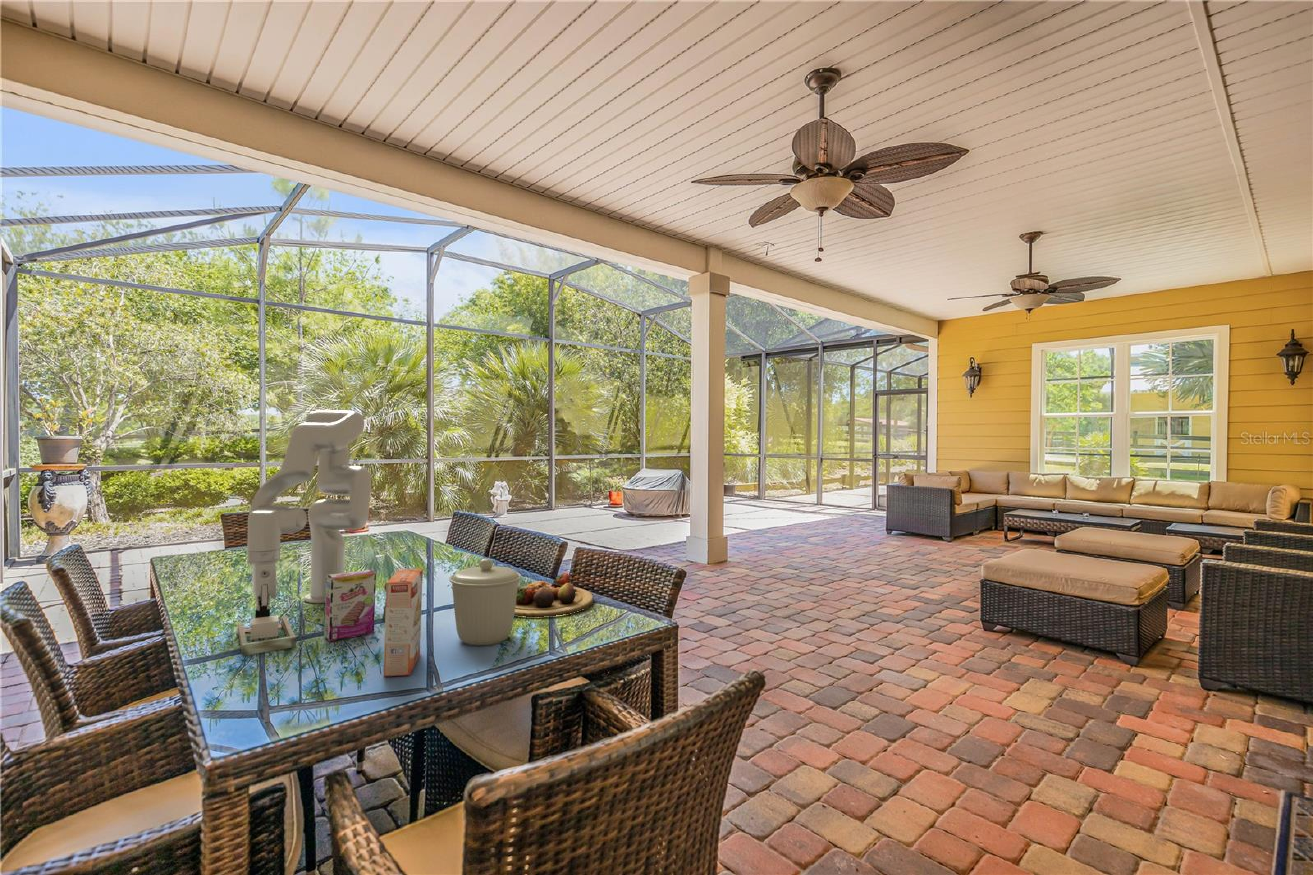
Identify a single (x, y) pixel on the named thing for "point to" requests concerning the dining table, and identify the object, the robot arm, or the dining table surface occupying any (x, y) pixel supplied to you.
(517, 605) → the wooden plate with food
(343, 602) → the candy bar box
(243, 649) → the finger lane
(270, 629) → the cream block
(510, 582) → the canister
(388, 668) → the cracker box
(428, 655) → the dining table surface
